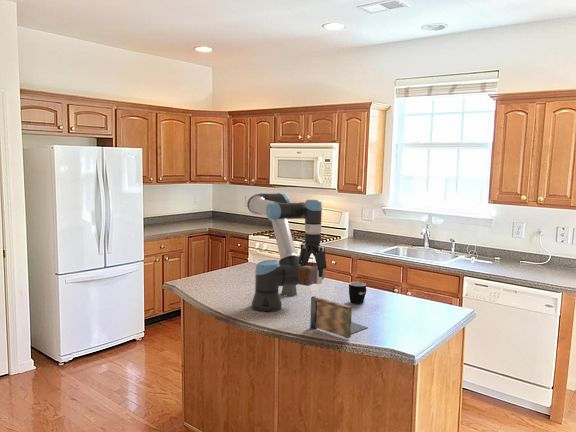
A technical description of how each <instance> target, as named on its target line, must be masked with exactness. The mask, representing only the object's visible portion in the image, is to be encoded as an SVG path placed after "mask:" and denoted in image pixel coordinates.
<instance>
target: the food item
mask: <svg viewBox="0 0 576 432" xmlns="http://www.w3.org/2000/svg"><path fill="white" fill-rule="evenodd" d="M320 267H321V266H320ZM317 269H318V267H317V263H316V262H315V261H314V262H313V261H308V262H307V263H306V266H302V267H300V268H299V282H298V283H299V285H301V286H307V287H310V286H311V285H317V284H316V282H317ZM325 271H326V269H323V277H322V281H324V279H325V277H326V276H325V275H326V274H325V273H326V272H325Z"/></svg>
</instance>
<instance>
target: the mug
mask: <svg viewBox="0 0 576 432" xmlns="http://www.w3.org/2000/svg"><path fill="white" fill-rule="evenodd" d="M366 294H367V283H364V282H361V281H352V282H349V283H348V296H349V302H350V304H353V305H362V304H364V302H365V298H366Z"/></svg>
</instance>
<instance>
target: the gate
mask: <svg viewBox="0 0 576 432" xmlns="http://www.w3.org/2000/svg"><path fill="white" fill-rule="evenodd" d="M352 307H353V306H350V305H347V304H342V303H340V302H336V301H333V300H329V299H324V298H322V297H318V299H317V323H316V328H317V329H320V330H322V331H325V332H327V333H331V334H333V335H337V336H340V337H343V338H345V339H349V338H351V337H352V336H351V335H352V334H351V322H352V313H353V309H352Z"/></svg>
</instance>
